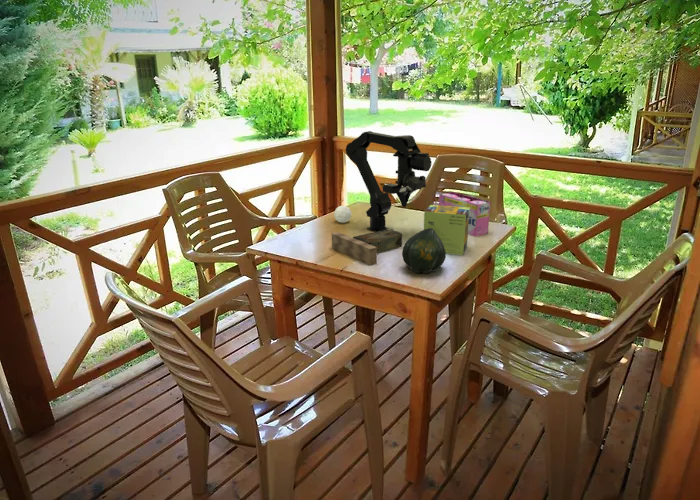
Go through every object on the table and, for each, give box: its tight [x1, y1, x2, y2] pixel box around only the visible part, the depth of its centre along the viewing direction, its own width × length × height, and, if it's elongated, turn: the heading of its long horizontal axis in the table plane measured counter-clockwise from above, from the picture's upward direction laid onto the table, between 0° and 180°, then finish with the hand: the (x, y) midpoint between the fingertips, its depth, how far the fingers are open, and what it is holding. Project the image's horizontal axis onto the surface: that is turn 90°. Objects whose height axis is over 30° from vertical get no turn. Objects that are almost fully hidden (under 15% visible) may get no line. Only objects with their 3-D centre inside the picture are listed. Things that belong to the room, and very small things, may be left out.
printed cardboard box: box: [352, 228, 403, 254], centre depth 189 cm, size 8×19×6 cm, turn 123°
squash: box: [401, 228, 447, 274], centre depth 169 cm, size 14×15×15 cm
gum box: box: [438, 191, 491, 237], centre depth 211 cm, size 24×8×14 cm, turn 33°
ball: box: [333, 205, 352, 224], centre depth 223 cm, size 8×8×8 cm
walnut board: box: [331, 231, 378, 266], centre depth 183 cm, size 23×3×6 cm, turn 37°
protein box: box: [423, 204, 470, 256], centre depth 187 cm, size 10×15×16 cm
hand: (404, 206), depth 201 cm, fingers closed
